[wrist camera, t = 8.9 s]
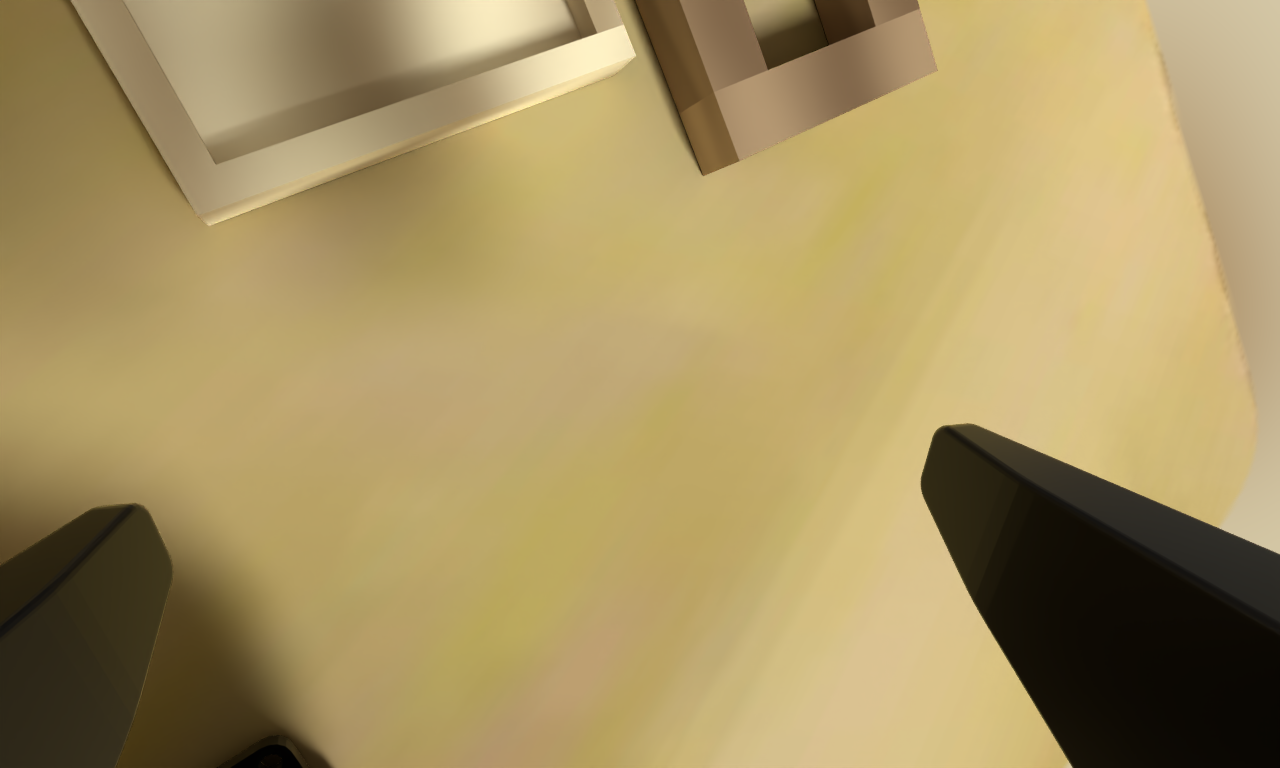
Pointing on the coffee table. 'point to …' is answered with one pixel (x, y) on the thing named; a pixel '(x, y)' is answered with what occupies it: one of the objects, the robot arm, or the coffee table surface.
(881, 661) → the coffee table surface
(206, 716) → the coffee table surface
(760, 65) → the block
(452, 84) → the tray
